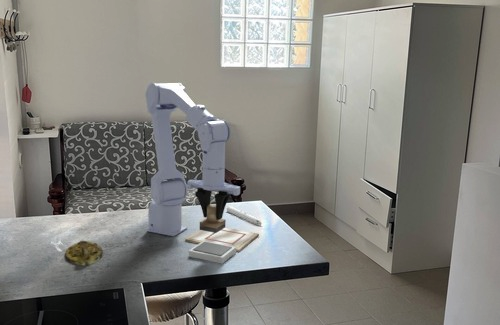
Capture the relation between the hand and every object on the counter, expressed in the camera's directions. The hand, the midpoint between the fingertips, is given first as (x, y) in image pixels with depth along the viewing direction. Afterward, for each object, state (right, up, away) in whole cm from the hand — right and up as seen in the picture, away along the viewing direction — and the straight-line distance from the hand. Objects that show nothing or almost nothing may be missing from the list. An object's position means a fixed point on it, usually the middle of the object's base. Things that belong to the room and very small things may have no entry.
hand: (212, 217), depth 129 cm
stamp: (0, -3, +1) cm, 3 cm away
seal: (-34, -10, 0) cm, 35 cm away
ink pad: (0, -10, +2) cm, 10 cm away
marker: (+8, -4, +33) cm, 34 cm away
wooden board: (+2, -8, +14) cm, 16 cm away
